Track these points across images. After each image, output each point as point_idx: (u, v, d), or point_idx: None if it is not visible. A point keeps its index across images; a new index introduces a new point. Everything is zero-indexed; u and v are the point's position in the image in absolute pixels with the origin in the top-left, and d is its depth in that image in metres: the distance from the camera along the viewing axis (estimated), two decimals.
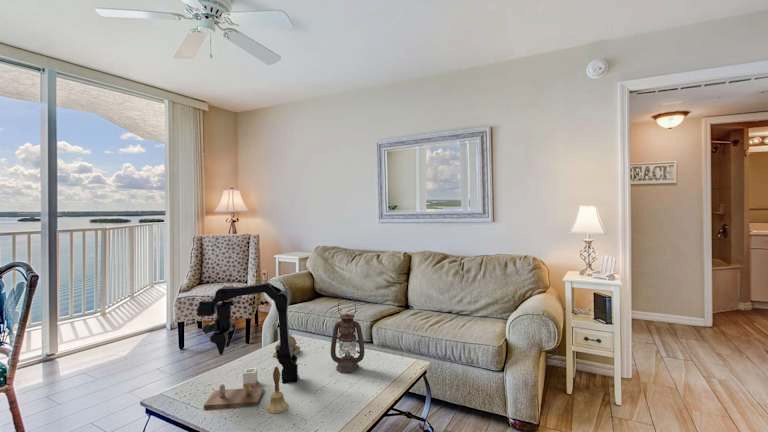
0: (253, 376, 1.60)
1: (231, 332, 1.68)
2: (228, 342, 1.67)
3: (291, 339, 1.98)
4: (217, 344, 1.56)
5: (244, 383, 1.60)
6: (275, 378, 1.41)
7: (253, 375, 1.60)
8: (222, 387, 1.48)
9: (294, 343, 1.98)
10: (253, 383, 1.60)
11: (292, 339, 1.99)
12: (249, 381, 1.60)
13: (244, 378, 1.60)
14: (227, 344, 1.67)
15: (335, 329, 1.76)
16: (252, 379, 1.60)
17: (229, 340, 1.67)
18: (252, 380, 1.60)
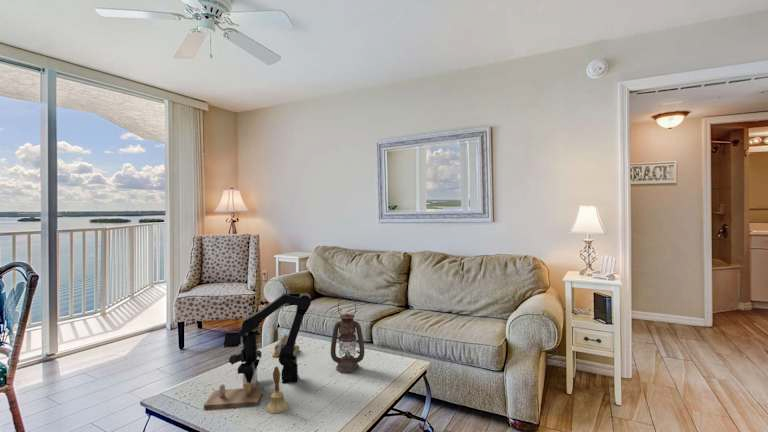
0: (253, 376, 1.60)
1: (255, 363, 1.66)
2: None
3: None
4: (245, 373, 1.58)
5: (244, 383, 1.60)
6: (275, 378, 1.41)
7: (253, 375, 1.60)
8: (222, 387, 1.48)
9: None
10: (253, 383, 1.60)
11: None
12: None
13: (244, 378, 1.60)
14: None
15: (335, 329, 1.76)
16: (252, 379, 1.60)
17: None
18: (252, 380, 1.60)
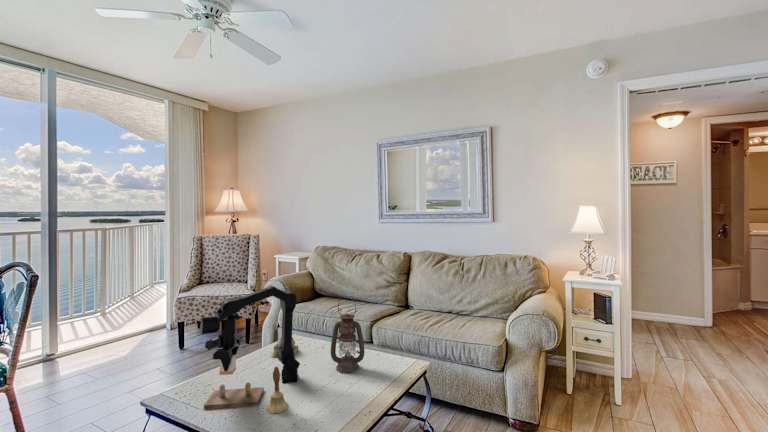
0: (230, 363, 1.49)
1: (234, 350, 1.55)
2: None
3: None
4: (222, 360, 1.47)
5: (221, 370, 1.49)
6: (275, 378, 1.41)
7: (231, 362, 1.49)
8: (222, 387, 1.48)
9: (293, 343, 1.98)
10: (230, 371, 1.49)
11: None
12: None
13: (221, 365, 1.49)
14: None
15: (335, 329, 1.76)
16: (229, 366, 1.49)
17: None
18: (229, 367, 1.49)
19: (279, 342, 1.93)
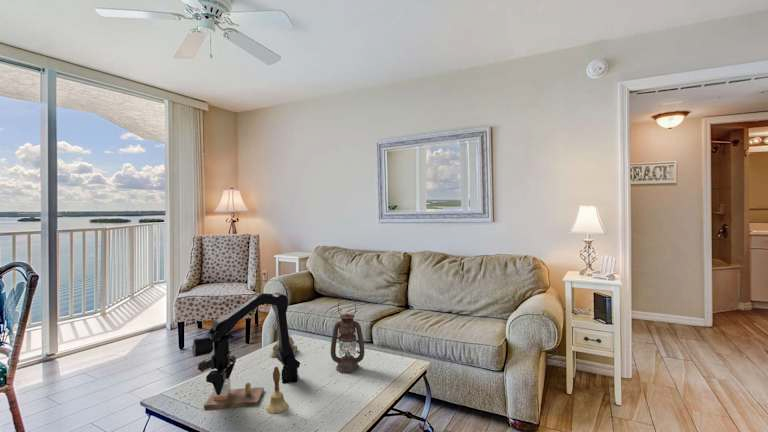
0: (225, 388, 1.46)
1: (229, 367, 1.54)
2: None
3: (289, 339, 1.99)
4: (214, 384, 1.42)
5: (215, 396, 1.46)
6: (275, 378, 1.41)
7: (225, 387, 1.46)
8: None
9: (292, 343, 1.98)
10: (225, 396, 1.46)
11: (289, 339, 1.99)
12: None
13: None
14: None
15: (335, 329, 1.76)
16: (224, 391, 1.46)
17: (227, 376, 1.53)
18: (224, 392, 1.46)
19: (278, 342, 1.93)
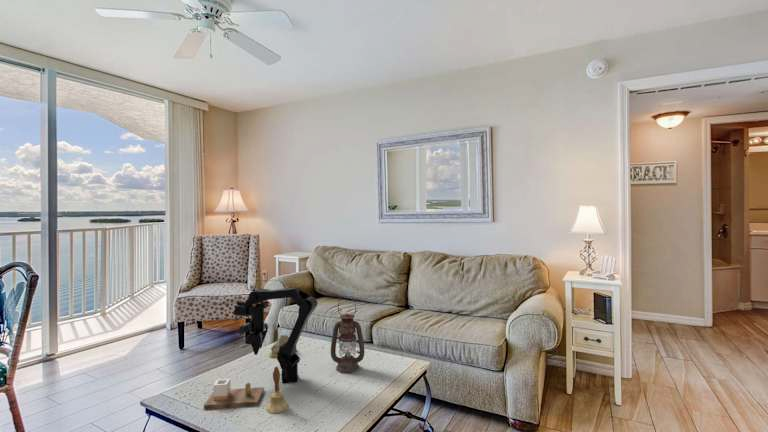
0: (225, 388, 1.46)
1: (263, 333, 1.75)
2: (261, 342, 1.74)
3: (287, 339, 1.99)
4: (252, 344, 1.63)
5: (215, 396, 1.46)
6: (275, 378, 1.41)
7: (225, 387, 1.46)
8: None
9: None
10: (225, 396, 1.46)
11: None
12: (220, 393, 1.46)
13: (215, 390, 1.46)
14: (260, 344, 1.74)
15: (335, 329, 1.76)
16: (224, 391, 1.46)
17: (262, 340, 1.74)
18: (224, 392, 1.46)
19: (277, 342, 1.93)
